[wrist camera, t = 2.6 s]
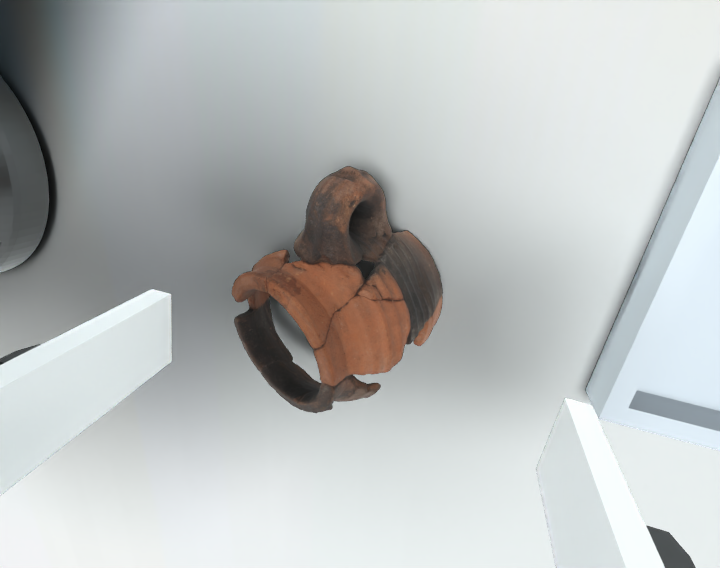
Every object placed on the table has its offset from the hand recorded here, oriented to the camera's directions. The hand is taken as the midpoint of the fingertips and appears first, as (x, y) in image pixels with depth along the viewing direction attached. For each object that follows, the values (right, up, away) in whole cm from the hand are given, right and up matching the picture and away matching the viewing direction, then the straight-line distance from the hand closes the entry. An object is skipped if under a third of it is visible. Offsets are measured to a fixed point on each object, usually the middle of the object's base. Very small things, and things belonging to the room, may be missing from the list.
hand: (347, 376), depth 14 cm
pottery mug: (+2, +5, +10) cm, 11 cm away
